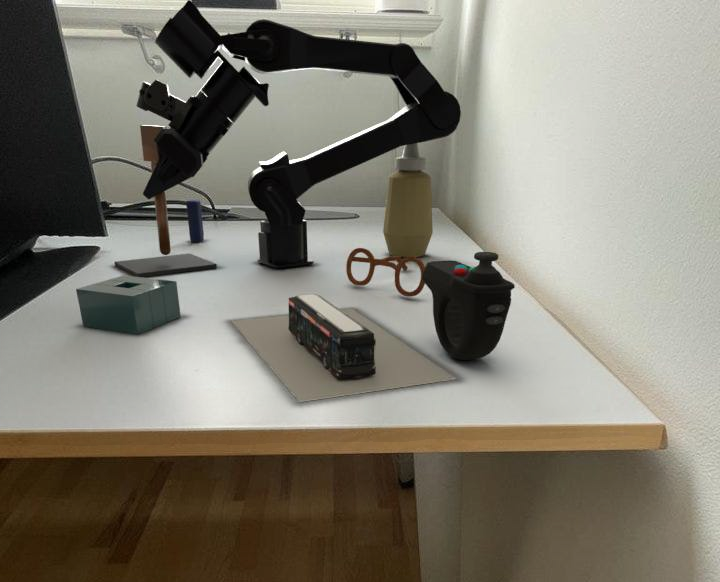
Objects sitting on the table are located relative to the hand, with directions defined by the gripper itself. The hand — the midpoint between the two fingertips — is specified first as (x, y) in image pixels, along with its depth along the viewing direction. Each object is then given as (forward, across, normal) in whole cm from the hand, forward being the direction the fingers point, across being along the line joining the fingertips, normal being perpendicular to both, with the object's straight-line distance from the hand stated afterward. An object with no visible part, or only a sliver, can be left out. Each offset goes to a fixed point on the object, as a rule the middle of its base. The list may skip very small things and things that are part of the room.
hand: (146, 196), depth 94 cm
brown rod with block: (+5, 0, +7) cm, 8 cm away
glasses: (-18, +16, +32) cm, 40 cm away
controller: (-16, +45, +31) cm, 57 cm away
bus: (-8, +41, +22) cm, 48 cm away
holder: (+6, +30, +7) cm, 31 cm away
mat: (+6, 0, +8) cm, 10 cm away
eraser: (+4, -22, +10) cm, 25 cm away
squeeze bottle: (-20, -5, +35) cm, 41 cm away
